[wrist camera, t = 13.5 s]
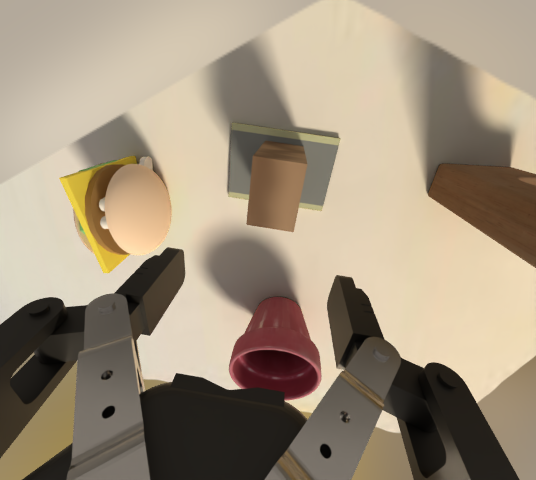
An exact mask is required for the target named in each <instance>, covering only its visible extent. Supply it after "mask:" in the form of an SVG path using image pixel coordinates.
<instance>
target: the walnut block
mask: <svg viewBox="0 0 536 480" xmlns="http://www.w3.org/2000/svg"><path fill="white" fill-rule="evenodd" d="M306 169H307V160H306V155H305V151H304V147H303V146H299V145H292V144H285V143H279V142H272V141H265V142H264V143H263V144H262V145H261V147H260V148H259V149H258V150H257V151H256V153H255V154H254V155H253V160H252V170H251V181H250V192H249V203H248V214H247V225H252V226H258V227H265V228H271V229H277V230H284V231H290V232H294V227H295V222H296V217H297V213H298V208H299V203H300V198H301V193H302V189H303V184H304V179H305V174H306Z"/></svg>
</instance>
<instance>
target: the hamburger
mask: <svg viewBox="0 0 536 480" xmlns="http://www.w3.org/2000/svg"><path fill="white" fill-rule="evenodd" d="M59 179H60V181H61V183H62V185H63V187H64V189H65V192H66V194H67V196H68V198H69V200H70V202H71V204H72V207H73V211H74V221H75V226H76V229H77V232H78V235H79V237H80V238H81V240H82V242H83V243H84V245H85V246H86V247H87V248H88V249H89V250H90V251H91V252H93V253H94V254H95V256H96V258H97V260H98V262H99V264H100V266H101V269H102V271H103V273H110V272H111V271H112V270H113V269H114V268H115V267H116V266H117V265H119V264H120V263H121V262H122V261H123V260H124V259H125V258H126V257H127V256H129V255H130V254H132V255H144V254H148V253H150V252H152V251H154V250H155V249H156V248H158V247H159V246H160V244H161V243H162V242H163V241H164V239H165V237H166V235H167V233H168V231H169V228H170V223H171V215H172V210H171V202H170V197H169V194H168V191H167V189H166V187H165V185H164V183H163V182H162V180H161V179H160V178H159V176H158V175H157V174H156V173H155V172H154V171H153V164H152V159H151V158H150V157H142V158H141V159H140V162H139V164H137V161H136V157H135V156H129V157H126V158H123V159H119V160H113V161H110V162H107V163H101V164H98V165H95V166H93V167H90V168H87V169H83V170H80V171H79V172H77V173H74V174H71V175H67V176H64V177H61V178H59Z"/></svg>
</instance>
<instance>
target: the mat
mask: <svg viewBox="0 0 536 480" xmlns="http://www.w3.org/2000/svg"><path fill="white" fill-rule="evenodd" d="M265 141H272V142H279V143H285V144H292V145H299V146H303V147H304V151H305V155H306V160H307V169H306V174H305V179H304V184H303V189H302V193H301V198H300V203H299V208H304V209H311V210H317V211H322V208H323V204H324V200H325V196H326V192H327V188H328V185H329V181H330V177H331V173H332V169H333V165H334V161H335V158H336V154H337V150H338V146H339V142H340V138H335V137H328V136H321V135H314V134H308V133H301V132H294V131H287V130H280V129H274V128H267V127H260V126H253V125H246V124H240V123H232V128H231V151H230V175H229V197H233V198H240V199H246V200H249V192H250V181H251V170H252V160H253V155H254V154H255V153H256V151H257V150H258V149H259V148H260V147H261V145H262V144H263V143H264V142H265Z"/></svg>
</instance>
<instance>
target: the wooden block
mask: <svg viewBox="0 0 536 480" xmlns="http://www.w3.org/2000/svg"><path fill="white" fill-rule="evenodd" d="M428 196H429V197H431V198H432V199H434V200H435V201H437V202H438V203H440V204H441V205H443V206H444V207H446V208H447V209H449V210H450V211H452V212H453V213H455V214H456V215H458V216H459V217H461V218H462V219H464V220H465V221H467V222H468V223H470V224H471V225H472V226H474V227H475V228H477V229H478V230H480V231H481V232H483V233H484V234H486V235H487V236H489V237H490V238H492V239H493V240H495V241H496V242H498V243H499V244H501V245H502V246H504V247H505V248H507V249H508V250H510V251H511V252H513V253H514V254H516V255H517V256H519V257H520V258H522V259H523V260H525V261H526V262H528V263H529V264H531V265H532V266H534V267H535V268H536V174H533V173H529V172H526V171H522V170H519V169H515V168H512V167H496V166H479V165H462V164H444V163H443V164H440V165H439V167H438V170H437V172H436V175H435V177H434V180H433V182H432V185H431V188H430V190H429V193H428Z"/></svg>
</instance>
